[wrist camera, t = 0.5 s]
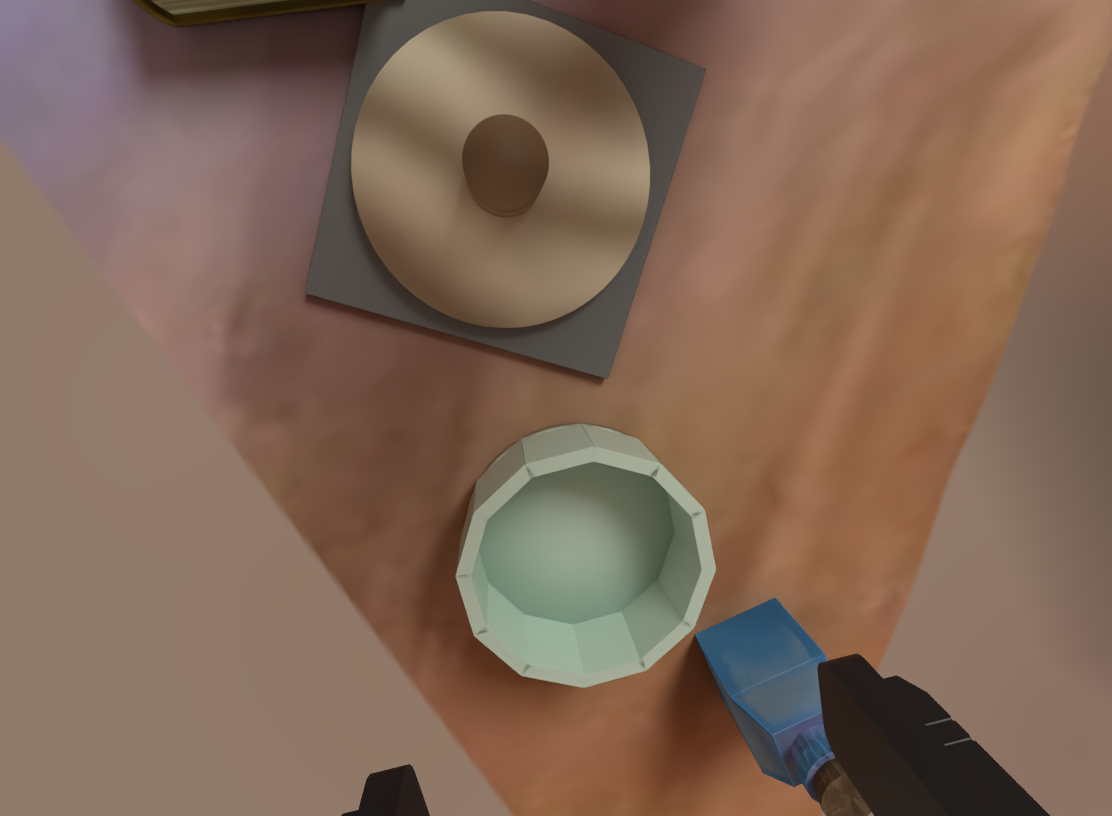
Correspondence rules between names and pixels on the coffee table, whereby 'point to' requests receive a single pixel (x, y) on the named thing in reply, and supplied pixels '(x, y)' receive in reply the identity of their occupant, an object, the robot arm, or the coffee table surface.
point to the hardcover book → (232, 9)
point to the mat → (365, 283)
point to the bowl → (582, 556)
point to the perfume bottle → (779, 701)
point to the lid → (500, 169)
